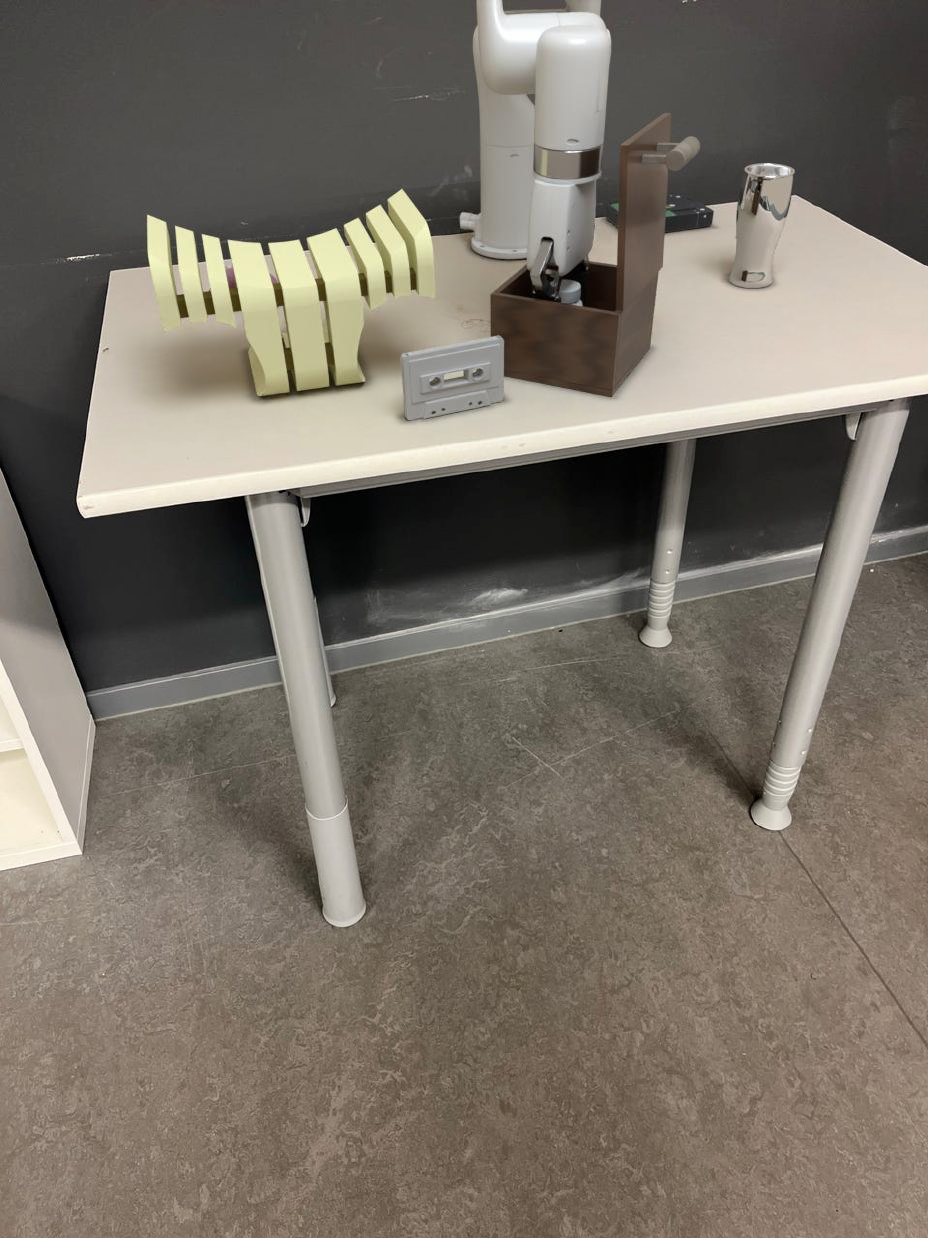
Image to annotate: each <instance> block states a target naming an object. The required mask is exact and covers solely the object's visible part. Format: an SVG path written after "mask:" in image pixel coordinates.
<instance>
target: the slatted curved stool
mask: <svg viewBox="0 0 928 1238" xmlns="http://www.w3.org/2000/svg"><path fill="white" fill-rule="evenodd" d="M387 209H388V214H387V212H386V211H385V210H384V208H383V206H382V204H379V205H377V206H375V207H373V208H372V209H371V210H369V211H367V212H366V213H365V221H366V222H365V223H366V226H367V229H368V230H369V232H370V234H371V236H372V238H373V240H374V242H373V240H372V238H371V237H370V235H369V233H368V232H367V230H366V228H365V227H364V225H363V223H362V221H361V219H360V218H359V217H357V218H355V219H353V220H350V221H348V222H347V223H344V224H343V231H344V237H345V238H346V241H347V243H348V245H349V247H350V250H351V251H352V252H351V253H352V254H353V257H354V260H355V262H354V260H353V257H352V256H351V254H350V252H349V250H348V249H347V246H346V244H345V242H344V240H343V238H342V237H341V234H340V232H339V230H338V228H337V227H335V228H333V229H331V230H328V231H325V232H322V233H319V234H316V235H312V236H309V237H306V244H307V249H308V251H309V254H310V257H311V260H312V263H313V265H314V268H315V271H316V275H317V277H316V278H315V276H314V274H313V272H312V269H311V267H310V264H309V261H308V258H307V256H306V254H305V251H304V248H303V246H302V243H301V241H300V239H295V240H288V241H280V242H279V241H277V242H268V244H267V245H268V251H269V252H268V253H269V255H270V258H271V262H272V266H273V269H274V272H275V276H276V277H275V278H276V280H277V282H278V283H274V284H272V282H271V278H270V275H269V274H270V271H269V268H268V264H267V262H266V258H265V255H264V252H263V251H264V250H263V248H262V244H261V243H260V242H251V241H239V240H234V239H233V240H231V239H227V245H228V250H229V255H230V261H231V265H232V266H233V270H234V275H235V280H236V285H237V288H232V289H229V287H228V282H227V277H226V272H225V266H226V265H225V263H224V262H225V261H224V257H223V252H222V251H223V250H222V247H221V241H220V238H219V237H216V236H213V235H212V236H211V235H207V234H203V233H201V239H202V245H203V251H204V257H205V264H206V271H207V276H208V282H209V289H210V288H211V291H209V290H208V291H207V290H206V291H204V289H203V283H202V277H201V271H200V265H199V259H198V252H197V251H198V250H197V244H196V239H195V234H194V231H193V230H189V229H187V228H183V227H180V226H177V225H174V229H175V240H176V241H175V242H176V252H177V254H176V255H177V263H178V264H177V265H178V271H179V277H180V282H181V287H182V292H183V293H180V294H178V290H177V285H176V281H175V275H174V267H173V263H172V262H173V260H172V259H173V258H172V251H171V241H170V240H171V239H170V234H169V229H168V225H167V222H166V221H165V220H161V219H160V218H157V217H155V216H152V215H149V214H146V231H147V232H146V234H147V237H146V238H147V240H146V241H147V243H146V244H147V257H148V263H149V269H150V275H151V279H152V283H153V288H154V293H155V296H156V301H157V305H158V309H159V313H160V319H161V323H162V326H163V329H164V332H167V331H170V330H173V329H175V328H178V327H182V326H183V325H182V324H183V323H182V319H185V318H186V319H187V318H188V319H189V323H190V324H196V323H205V322H209V318H208V316H210V315H211V316H212V315H215V318H216V323H220V324H225V325H229V326H231V327H233V328H235V329H237V324H236V320H235V314H234V313H235V312H236V313H237V312H241V317H242V322H243V326H244V331H245V337H246V340H247V341H248V342H249V344H250V347H249V349H248V351H247V353H248V359H249V363H250V368H251V373H252V377H253V383H254V387H255V392H256V395H257V396H258V397H263V396H271V395H278V394H286V393H290V383H289V377H288V376H289V375H288V371H290V372H291V376H292V379H293V383H294V386H295V391H297V392H300V391H308V390H315V389H322V388H329V387H330V378H329V377H330V376H329V371H330V374H331V378H332V379H333V383H334V385H335V386H337V387H338V386H342V385H343V386H344V385H351V384H357V383H364V382H366V377H365V375H364V373H363V371H362V368H361V366H360V363H359V361H358V352H359V345H360V339H361V336H362V331H363V328H364V325H365V320H364V309H363V299H362V297H363V298H364V300H365V302H366V305H367V306H368V308H369V310H370V312H373V311H374V309H376V308H377V307H378V306H380V305H381V304H383V303H386V302H387V301H388V300H387V294H392V296H393V298H394V299H399V298H407V297H412V291H415V292H416V294H417V295H418V297H423V298H432V299H436V298H437V297H436V296H437V295H436V275H435V256H434V246H433V241H432V237H431V231H430V229H429V225H428V223H427V220H426V219H425V218H424V216H423V215H422V213H421V212H420V211H419V210H418V207H417V206H415V204H414V203H413V201H412V199H410V197H409V196H408V194H407V193H406V192H405V191H404V189H403V188H401V189H400V190H398V191H397V192H395V194H393V195H391V196H390V197H389V198H387ZM374 243H375V244H374ZM375 245H376V246H375ZM355 263H356V264H355ZM320 302H323V309H324V314H325V321H326V327H323V319H322V312H321V304H320ZM278 307H282V311H283V315H284V321H285V327H286V328H285V329H286V332H281V325H280V319H279V313H278Z"/></svg>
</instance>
